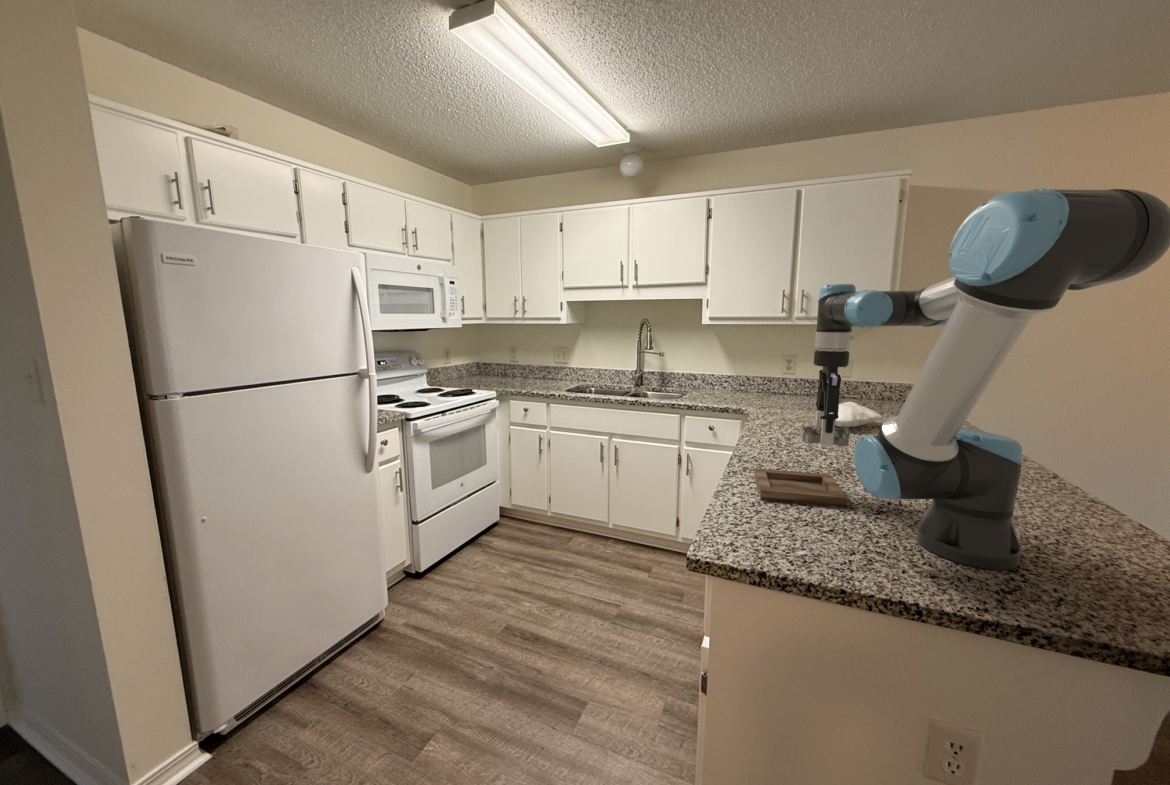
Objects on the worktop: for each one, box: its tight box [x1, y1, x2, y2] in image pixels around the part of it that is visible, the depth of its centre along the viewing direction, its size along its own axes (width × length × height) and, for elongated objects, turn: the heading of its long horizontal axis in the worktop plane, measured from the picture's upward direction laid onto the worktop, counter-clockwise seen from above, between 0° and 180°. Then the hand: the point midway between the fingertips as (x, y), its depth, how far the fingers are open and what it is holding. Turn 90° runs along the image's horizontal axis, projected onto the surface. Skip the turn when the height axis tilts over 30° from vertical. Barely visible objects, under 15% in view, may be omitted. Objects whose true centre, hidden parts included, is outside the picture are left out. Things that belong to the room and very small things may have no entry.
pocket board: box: [754, 468, 849, 509], centre depth 117 cm, size 17×19×2 cm
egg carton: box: [801, 424, 851, 448], centre depth 114 cm, size 11×8×4 cm
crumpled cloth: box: [831, 401, 882, 428], centre depth 189 cm, size 24×35×9 cm
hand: (823, 440), depth 114 cm, fingers closed on egg carton, 8 cm apart
